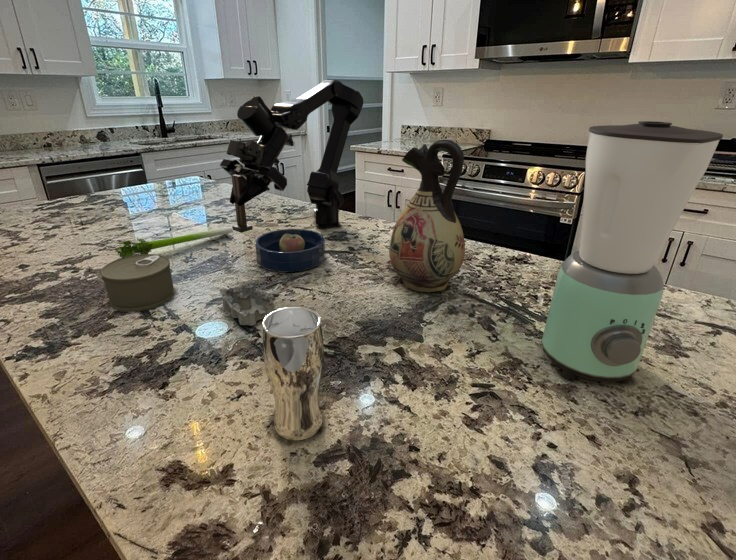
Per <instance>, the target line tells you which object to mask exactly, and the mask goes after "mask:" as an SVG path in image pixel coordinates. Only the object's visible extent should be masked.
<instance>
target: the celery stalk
mask: <svg viewBox="0 0 736 560" xmlns="http://www.w3.org/2000/svg"><path fill="white" fill-rule="evenodd" d="M232 233H234V230H233V228H232V227H229V226H223V227H219V228H215V229H210V230H205V231H201V232H195V233H190V234H185V235H180V236H174V237H169V238H162V239H155V240H151V241H150V240H149V241H148V240H145V239H144V238H138V237H136V240H137V241H138V242H133V241H131V240H126V241H118V242H117V241H113V243H115V244H119V245H123V246H118V248H117V247H115V249H114V250H115V251H114V253H116V254H117V256H119V258H125V257H129V256H134V254H139V255H142V254H150V253H152V250H155V249H160V248H165V247H170V246H173V245H178V244H183V243H188V242H193V241H198V240H203V239H207V238H212V237H217V236H222V235H228V234H232Z"/></svg>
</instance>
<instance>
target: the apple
mask: <svg viewBox="0 0 736 560" xmlns="http://www.w3.org/2000/svg"><path fill="white" fill-rule="evenodd" d="M279 245H280V250H281V252H295V251H302V250H304V246H305V242H304V240H303V239H302V237H301V236H299V235H297V234H294V235H290V234H284V235H283V236H282V238H281V239H280V243H279Z"/></svg>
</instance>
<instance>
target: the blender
mask: <svg viewBox="0 0 736 560" xmlns="http://www.w3.org/2000/svg"><path fill="white" fill-rule="evenodd" d="M588 132H589V134H588V140H587V148H586V154H585V174H584V175H585V176H584V189H583V202H582V215H581V225H580V226H581V227H580V234H579V246H578V247H579V249H578V250H577V251H575V252H573V253H571V254H570V255H569V256H568V257H567V258H566V259H565V260H564V261H562V263H561V265H560V267H559V270H558V272H557V276H556V280H555V284H554V288H553V293H552V297H551V301H550V305H549V309H548V312H547V317H546V321H545V325H544V330H543V334H542V337H541V338H542V339H541V347H542V350H543V352H544V354H545V355H546V356H547V357H548V359H549V360H550V361H551V362H552V363H554V364H555V365H556V366H557V367H558V368H561V369H562V370H561V376H562V377H563V378H565V379H567V380H571V381H572V380H575V379H577V377H580V378H581V379H582V378H583V379H587V380H590V381H595V382H605V383H606V382H621V383H624V384H627V383H630V382H631V380H632V377H633V375H634V374H635V373H636V372H637V370H638V367H639V365H640V362H641V359H642V357H643V353H644V350H645V349H646V345H647V341H648V339H649V337H650V333H651V330H652V327H653V325H654V322H655V319H656V316H657V313H658V310H659V308H660V305H661V301H662V298H663V294H664V288H665V284H664V281H663V275H662V274H661V272H660V270H659V269H658V268H657V267H656V266H655V264H656V262H657V260H658V258H659V256H660V255H661V253H662V251H663V249H664V248H665V245H666V243H667V242H668V239H669V237H670V236H671V234H672V233H673V230H674V228H675V226H676V225H677V222H678V221H679V219H680V217H681V215H682V214H683V212H684V210H685V208H686V206H687V205H688V202H689V200H690V199H691V198H692V195H693V194H694V192H695V190H696V188H697V186H698V185H699V182H701V180H702V178H703V176H704V175H705V174H706V172H707V169H708V168H709V165H710V163H711V161H712V159H713V157H714V154H715V152H716V149H717V147H718V145H719V142H720V140H722V139H723V137H724V134H723V133H719V132H716V131H710V130H703V129H694V128H686V127H681V126H676V125H673V123H672V122H668V121H651V120H641V121H637V123H631V124H623V125H621V124H616V125H615V124H610V125H608V124H607V125H594V126H590V127H588Z"/></svg>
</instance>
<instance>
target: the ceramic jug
mask: <svg viewBox="0 0 736 560" xmlns="http://www.w3.org/2000/svg"><path fill="white" fill-rule="evenodd" d="M440 152H445V153H448V154H449V156H450V157H451V159H452V160H451V161H452V167H451V170H450V173H449V176H448V179H447V182H446V185H445V187H444V189H442V187H441V184H440V177H443V176H445V174H446V168H445V167H444V164H443V163H442V162H441V160H440V158H439V155H438V154H439V153H440ZM401 161H402V162H403V163H404V164H406V165H408V166H410V167H412V168H414V169H415V170H416V171H418V172H419V174H420V177H421V181H420V184H419V188H418V189H416V192H415V193H414V195H413V196H412V197H411V198H410V200H409V201H408V202H407V204H406V205H405V207H404V208H403V210H402V212H401V213H400V215H399V216H398V218H397V220H396V222H395V224H394V227H393V229H392V233H391V236H390V241H389V246H388V247H389V248H388V255H389V260H390V263H391V266H392V268H393V269H394V271H395V272H396V273H397V274H398V275H399V277H400V278H401V279H402V283H403V285H404V286H405V287H406V288H408V289H410V290H412V291H416V292H421V293H434V292H440V291H444V290H445V289H447V286H448V284H449V281H450V280H451V279H452V278H454V276H456V275H457V274H458V273H459V271H460V270H461V268H462V266H463V263H464V262H465V261H464V260H465V257H466V242H465V235H464V232H463V228H462V225H461V222H460V220H459V218H458V216H457V214H456V212H455V207H454V202H453V200H452V199H453V195H454V193H455V190H456V187H457V185H458V182H459V180H460V178H461V176H462V172H463V170H464V169H463V167H464V163H465V155H464V151H463V149H462V148H461V146H460V145H459V144H458V143H457V142H455V141H453V140H451V139H439V140H436V141H434V142H433V143H432V144H431V145H430V146H429V148H428V146H427V144H425V143H424V144H422V146H421V147H420V148H417V147H412V148H411V149H409V150H408V151H407V152H406V153H405V155H404V156H403V157H402V159H401Z"/></svg>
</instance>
